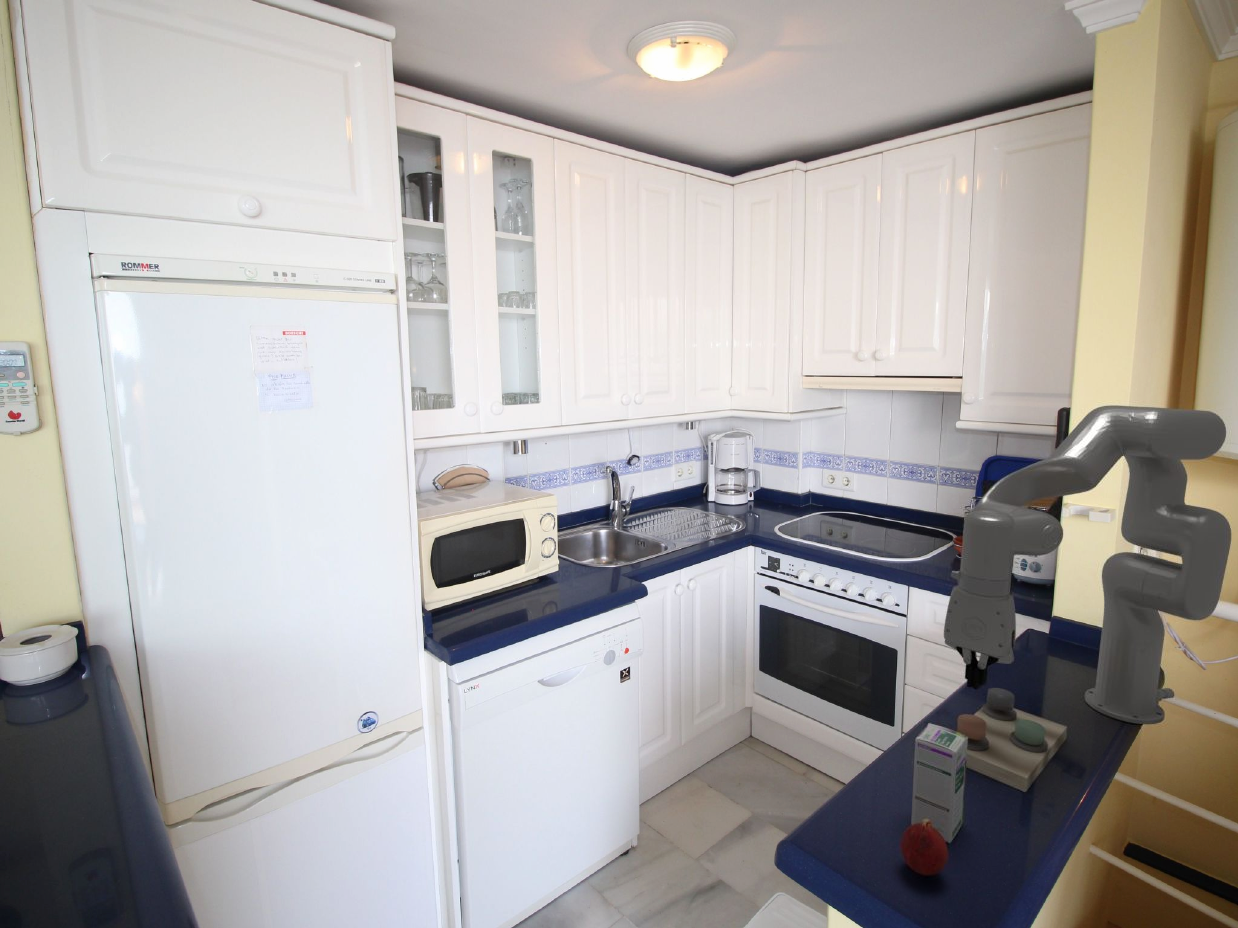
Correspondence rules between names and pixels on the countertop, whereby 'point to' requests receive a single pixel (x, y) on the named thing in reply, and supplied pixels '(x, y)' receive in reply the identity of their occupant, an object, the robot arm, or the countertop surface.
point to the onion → (924, 848)
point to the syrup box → (939, 779)
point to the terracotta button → (971, 726)
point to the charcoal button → (1000, 699)
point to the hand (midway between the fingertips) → (975, 685)
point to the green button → (1029, 732)
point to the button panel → (1012, 748)
